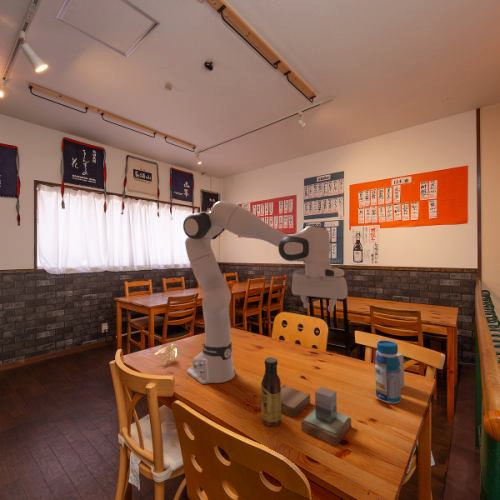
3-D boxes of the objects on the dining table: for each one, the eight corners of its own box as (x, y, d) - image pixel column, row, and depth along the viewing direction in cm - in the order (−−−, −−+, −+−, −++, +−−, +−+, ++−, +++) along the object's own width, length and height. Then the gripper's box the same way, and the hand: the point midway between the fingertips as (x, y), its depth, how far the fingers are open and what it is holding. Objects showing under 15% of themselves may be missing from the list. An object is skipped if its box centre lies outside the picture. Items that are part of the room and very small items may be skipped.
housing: (315, 418, 84) (315, 391, 84) (321, 412, 87) (321, 386, 87) (331, 424, 81) (330, 397, 81) (336, 418, 84) (336, 391, 84)
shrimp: (152, 371, 132) (148, 357, 128) (166, 350, 145) (163, 335, 142) (174, 373, 130) (171, 358, 126) (186, 351, 143) (183, 336, 140)
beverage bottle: (400, 407, 94) (399, 348, 94) (373, 400, 99) (372, 344, 99) (402, 396, 101) (401, 341, 101) (377, 390, 106) (376, 338, 106)
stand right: (301, 429, 83) (301, 419, 83) (318, 413, 91) (317, 404, 91) (336, 446, 76) (336, 435, 76) (351, 426, 84) (351, 416, 84)
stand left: (266, 405, 96) (266, 397, 96) (284, 393, 105) (284, 385, 105) (294, 417, 89) (293, 408, 89) (310, 403, 98) (310, 394, 98)
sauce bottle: (260, 416, 90) (259, 355, 90) (279, 414, 91) (278, 354, 91) (263, 428, 84) (262, 363, 84) (283, 427, 84) (282, 362, 84)
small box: (404, 387, 107) (404, 354, 108) (393, 391, 105) (393, 357, 105) (386, 379, 115) (385, 348, 115) (375, 382, 112) (375, 350, 112)
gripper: (288, 270, 103) (288, 307, 102) (341, 272, 89) (342, 314, 89) (296, 269, 107) (297, 304, 107) (348, 270, 94) (349, 311, 94)
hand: (318, 309), depth 98 cm, fingers open, 8 cm apart
